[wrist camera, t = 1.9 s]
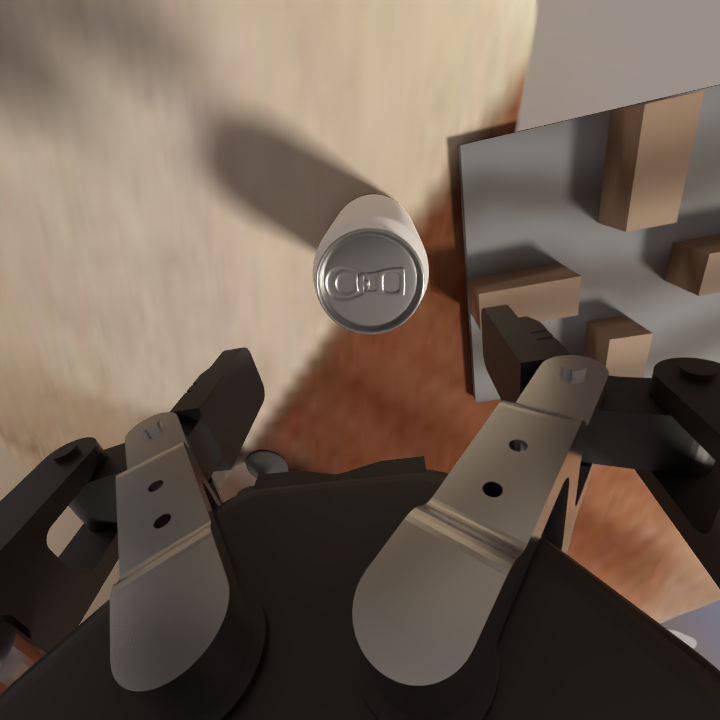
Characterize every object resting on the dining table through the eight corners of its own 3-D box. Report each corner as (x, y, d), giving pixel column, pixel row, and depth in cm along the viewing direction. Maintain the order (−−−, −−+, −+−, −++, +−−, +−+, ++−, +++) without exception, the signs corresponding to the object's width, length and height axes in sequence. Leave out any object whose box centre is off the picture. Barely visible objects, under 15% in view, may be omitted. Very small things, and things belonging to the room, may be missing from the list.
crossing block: (457, 145, 25) (471, 144, 21) (818, 61, 22) (911, 42, 18) (473, 396, 36) (484, 425, 32) (719, 362, 33) (765, 391, 29)
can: (329, 195, 27) (298, 222, 17) (414, 190, 27) (436, 215, 17) (336, 278, 31) (314, 343, 20) (413, 275, 30) (430, 340, 20)
